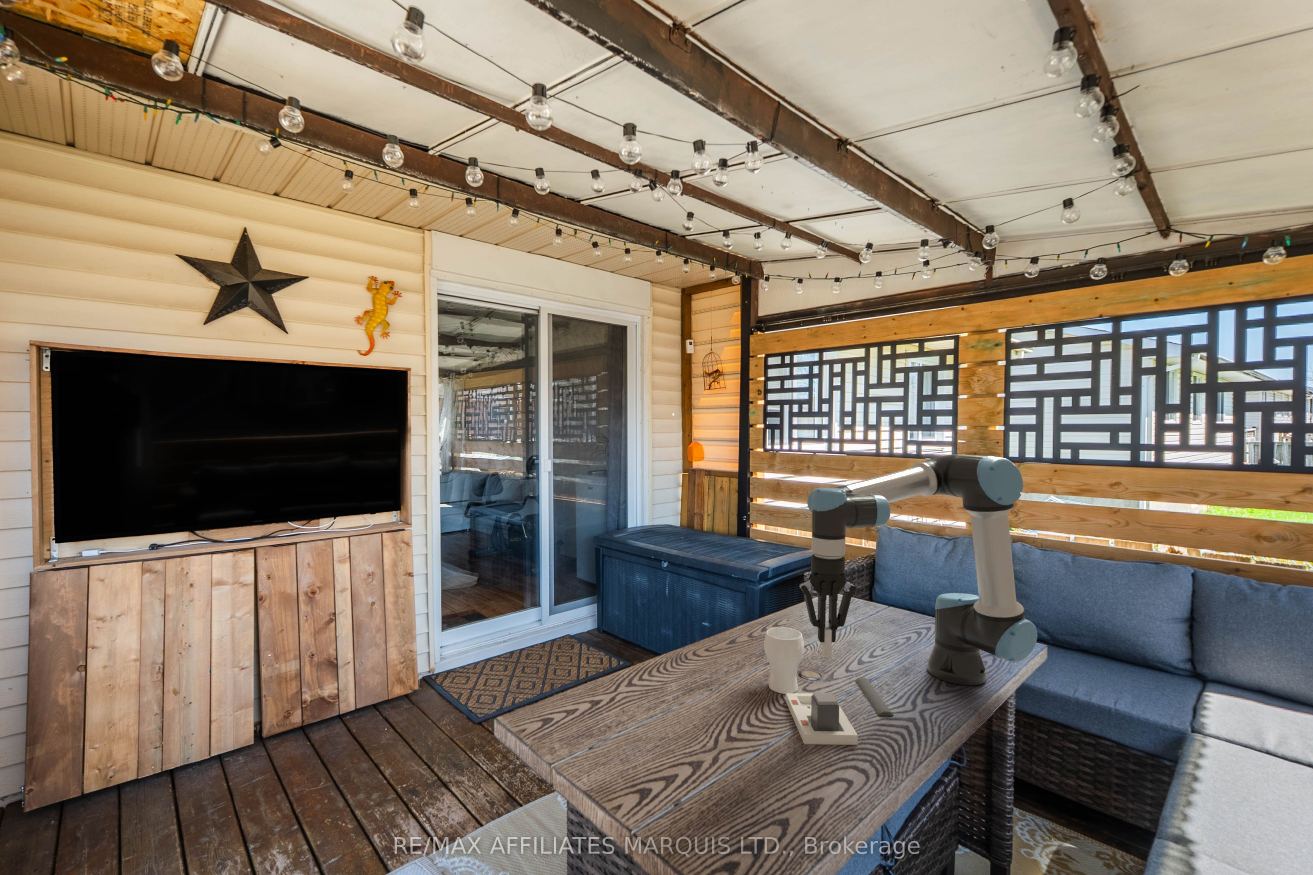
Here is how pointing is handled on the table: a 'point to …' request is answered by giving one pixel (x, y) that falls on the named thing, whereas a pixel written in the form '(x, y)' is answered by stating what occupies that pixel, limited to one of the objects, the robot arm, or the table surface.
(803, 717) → the socket plate
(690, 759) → the table surface
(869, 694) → the gray half cylinder
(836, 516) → the robot arm
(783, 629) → the cup
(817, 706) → the plug
